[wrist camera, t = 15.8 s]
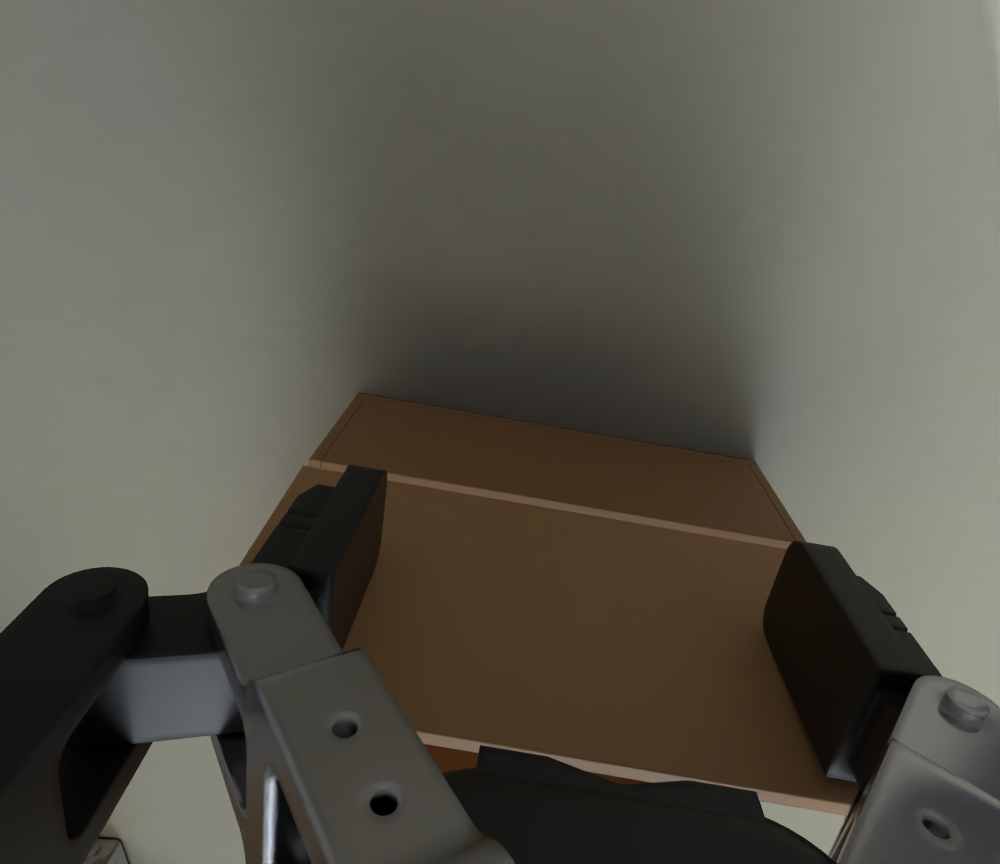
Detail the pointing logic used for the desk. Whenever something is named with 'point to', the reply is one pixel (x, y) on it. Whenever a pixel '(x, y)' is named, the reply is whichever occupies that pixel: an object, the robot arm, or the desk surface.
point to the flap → (582, 642)
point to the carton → (556, 479)
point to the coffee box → (106, 853)
